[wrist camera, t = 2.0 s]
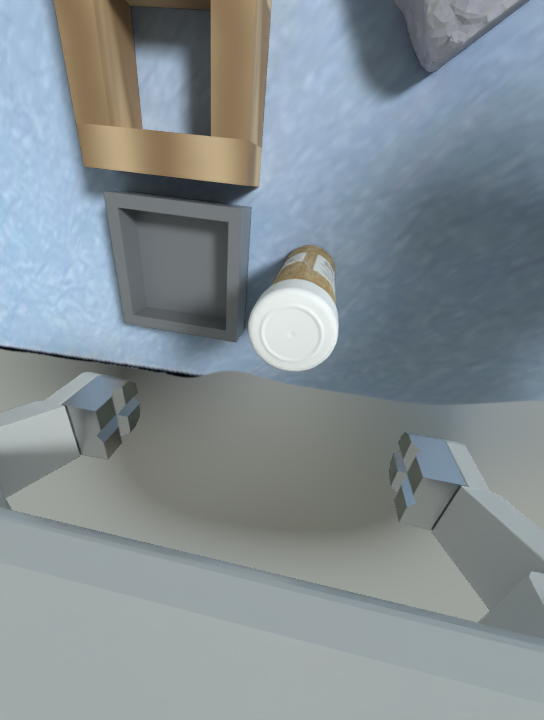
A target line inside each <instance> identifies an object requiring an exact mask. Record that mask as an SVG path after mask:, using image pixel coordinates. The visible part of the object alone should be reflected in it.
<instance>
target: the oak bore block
mask: <svg viewBox="0 0 544 720" xmlns="http://www.w3.org/2000/svg"><path fill="white" fill-rule="evenodd" d="M271 3H272V0H54V5H55V11H56V16H57V22H58V27H59V32H60V38H61V43H62V49H63V54H64V60H65V65H66V71H67V76H68V82H69V87H70V93H71V98H72V103H73V109H74V114H75V120H76V125H77V131H78V136H79V142H80V147H81V153H82V158H83V164H84V167H92V168H101V169H109V170H118V171H126V172H135V173H143V174H152V175H160V176H169V177H177V178H186V179H194V180H203V181H211V182H220V183H228V184H237V185H245V186H256V187H259V180H260V165H261V150H262V136H263V121H264V106H265V92H266V77H267V62H268V48H269V33H270V18H271ZM131 6H147V7H165V8H182V9H200V10H211V136H202V135H193V134H183V133H173V132H163V131H153V130H143V129H142V120H141V109H140V99H139V88H138V78H137V67H136V57H135V46H134V36H133V25H132V14H131Z"/></svg>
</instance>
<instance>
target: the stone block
mask: <svg viewBox="0 0 544 720" xmlns="http://www.w3.org/2000/svg"><path fill="white" fill-rule="evenodd" d="M528 1H529V0H394V3H395V5H396V6H397V7H398V8H399V9H400V10H401V11H402V12H403V15H404V19H405V21H406V24H407V31H408V33H409V38H410V40H411V43H412V46H413V49H414V51H415V53H416V55H417V57H418V59H419V62H420V65H421V66H422V67H423V68H424V69H425V70H426V71H428V72H434V71H436V70H438V69H439V68H440V67H441V66H443V65H444V64H445V63H447V62H448V61H449V60H451V59H452V58H453V57H455V56H456V55H457V54H459V53H460V52H461V51H463V50H464V49H465V48H467V47H468V46H469V45H471V44H472V43H473V42H475V41H476V40H477V39H478V38H480V37H481V36H482V35H484V34H485V33H486V32H488V31H489V30H490V29H492V28H493V27H494V26H496V25H497V24H498V23H500V22H501V21H502V20H504V19H505V18H506V17H508V16H509V15H510V14H512V13H513V12H514V11H516V10H517V9H518V8H520V7H521V6H522V5H524V4H525V3H526V2H528Z"/></svg>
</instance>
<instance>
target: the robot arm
mask: <svg viewBox="0 0 544 720" xmlns="http://www.w3.org/2000/svg"><path fill="white" fill-rule="evenodd" d="M136 394H137V387H136V383H134V382H133V381H130V380H125V379H121V378H116V377H112V376H107V375H101V374H96V373H92V372H85V373H82V374H80V375H79V376H78V377H76V378H75V379H73V380H72V381H71V382H69V383H68V384H67V385H65V386H64V387H62V388H61V389H59V390H58V391H57V392H55V393H54V394H52V395H51V396H50V397H48V398H47V399H45V400H44V401H34V402H31V403H28V404H24V405H21V406H18V407H15V408H11V409H8V410H5V411H1V412H0V720H544V531H542V530H541V529H540V528H539V527H538V526H536V525H535V524H534V523H533V522H531V521H530V520H529V519H528V518H527V517H525V516H524V515H523V514H522V513H521V512H519V511H518V510H517V509H516V508H514V507H513V506H512V505H511V504H509V503H508V502H507V501H506V500H505V499H504V498H502V497H501V496H500V495H499V494H497V493H495V492H490V490H489V488H488V486H487V485H486V483H485V481H484V479H483V477H482V475H481V473H480V472H479V470H478V468H477V466H476V465H475V463H474V461H473V459H472V457H471V455H470V453H469V452H468V450H467V448H466V446H465V445H464V444H463V443H462V442H459V441H452V440H447V439H438V438H432V437H427V436H421V435H416V434H411V433H404V434H403V435H402V436H401V438H400V440H399V446H400V450H399V451H397V452H395V453H394V454H393V457H392V459H391V462H390V468H389V478H390V484H391V487H392V488H393V489H394V490H395V491H396V493H397V495H396V497H395V499H394V503H395V508H396V512H397V517H398V521H399V523H403V524H407V525H410V526H414V527H419V528H422V529H427V530H431V531H432V534H433V535H434V536H435V538H436V539H437V540H438V542H439V543H440V544H441V546H442V547H443V548H444V550H445V551H446V552H447V554H448V555H449V557H450V558H451V559H452V561H453V562H454V563H455V565H456V566H457V567H458V569H459V570H460V571H461V573H462V574H463V575H464V577H465V578H466V579H467V581H468V582H469V583H470V585H471V586H472V587H473V589H474V590H475V591H476V593H477V594H478V595H479V597H480V598H481V599H482V601H483V602H484V604H485V605H486V606H487V608H488V609H489V610H490V611H489V612H488V613H487V614H486V615H485V616H484V617H483V618H482V619H481V620H480V621H479V622H478V623H477V622H473V621H469V620H464V619H461V618H456V617H452V616H448V615H444V614H440V613H436V612H432V611H427V610H423V609H419V608H415V607H411V606H407V605H403V604H399V603H394V602H390V601H386V600H382V599H378V598H373V597H370V596H365V595H361V594H357V593H353V592H349V591H345V590H340V589H336V588H332V587H328V586H324V585H320V584H316V583H311V582H307V581H303V580H299V579H295V578H291V577H287V576H283V575H279V574H274V573H270V572H266V571H262V570H257V569H253V568H250V567H245V566H241V565H237V564H233V563H229V562H225V561H221V560H216V559H212V558H208V557H204V556H200V555H195V554H191V553H187V552H183V551H179V550H174V549H171V548H166V547H162V546H158V545H154V544H150V543H146V542H141V541H137V540H133V539H129V538H125V537H121V536H117V535H112V534H108V533H104V532H100V531H96V530H92V529H87V528H83V527H79V526H75V525H71V524H67V523H63V522H59V521H54V520H50V519H46V518H42V517H38V516H34V515H30V514H26V513H21V512H17V511H13V510H12V509H11V507H10V505H9V504H8V502H7V500H6V498H7V497H9V496H11V495H12V494H14V493H16V492H18V491H19V490H21V489H23V488H25V487H26V486H28V485H30V484H32V483H34V482H35V481H37V480H39V479H41V478H42V477H44V476H46V475H48V474H49V473H51V472H53V471H55V470H57V469H58V468H60V467H62V466H64V465H65V464H67V463H69V462H71V461H72V460H74V459H76V458H78V457H80V455H85V456H91V457H96V458H102V459H109V458H110V456H111V455H112V454H113V453H114V452H115V450H116V449H117V448H118V447H119V446H120V444H121V443H122V439H121V437H122V436H124V435H126V434H129V433H130V432H131V431H132V430H133V429H134V428H135V426H136V424H137V422H138V419H139V417H140V405H139V403H138V401H137V400H136V399H135V398H134V396H135V395H136Z"/></svg>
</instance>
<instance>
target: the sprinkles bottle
mask: <svg viewBox="0 0 544 720" xmlns="http://www.w3.org/2000/svg"><path fill="white" fill-rule="evenodd" d="M338 327H339V323H338V312H337V309H336V306H335V266H334V262H333V260H332V258H331V256H330V255H329V254H328V253H327V252H326V251H325V250H324V249H322V248H320V247H318V246H315V245H306V246H302V247H299V248H297V249H295V250H294V251H293V252H292V253H291V254H290V255H289V256H288V257H287V259H286V261H285V263H284V265H283V267H282V268H281V270H280V272H279V273H278V275H277V277H276V278H275V280H274V282H273V284H272V285H271V286H270V287H269V288H268V289H267V290H266V291H264V293H263V294H262V295H261V296H260V298H259V299H258V301H257V302H256V304H255V306H254V308H253V309H252V311H251V314H250V317H249V321H248V334H249V338H250V341H251V344H252V346H253V348H254V350H255V351H256V353H257V354H258V355H259V356H260V357H261V358H262V359H263V360H264V361H265V362H267V363H268V364H270V365H272V366H274V367H276V368H278V369H282V370H286V371H303V370H308V369H311V368H313V367H316V366H317V365H319V364H321V363H322V362H323V361H324V360H325V359H327V358H328V357H329V355H330V354H331V352H332V351H333V349H334V347H335V345H336V342H337V338H338Z"/></svg>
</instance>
